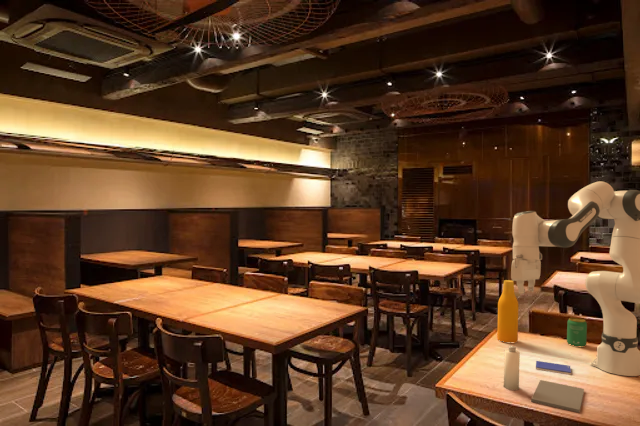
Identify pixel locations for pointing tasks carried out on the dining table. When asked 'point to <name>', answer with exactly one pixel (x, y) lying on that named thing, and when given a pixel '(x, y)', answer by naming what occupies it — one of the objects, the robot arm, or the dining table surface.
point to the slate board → (558, 396)
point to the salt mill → (511, 368)
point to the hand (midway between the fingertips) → (526, 292)
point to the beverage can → (576, 331)
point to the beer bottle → (508, 314)
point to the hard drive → (553, 367)
